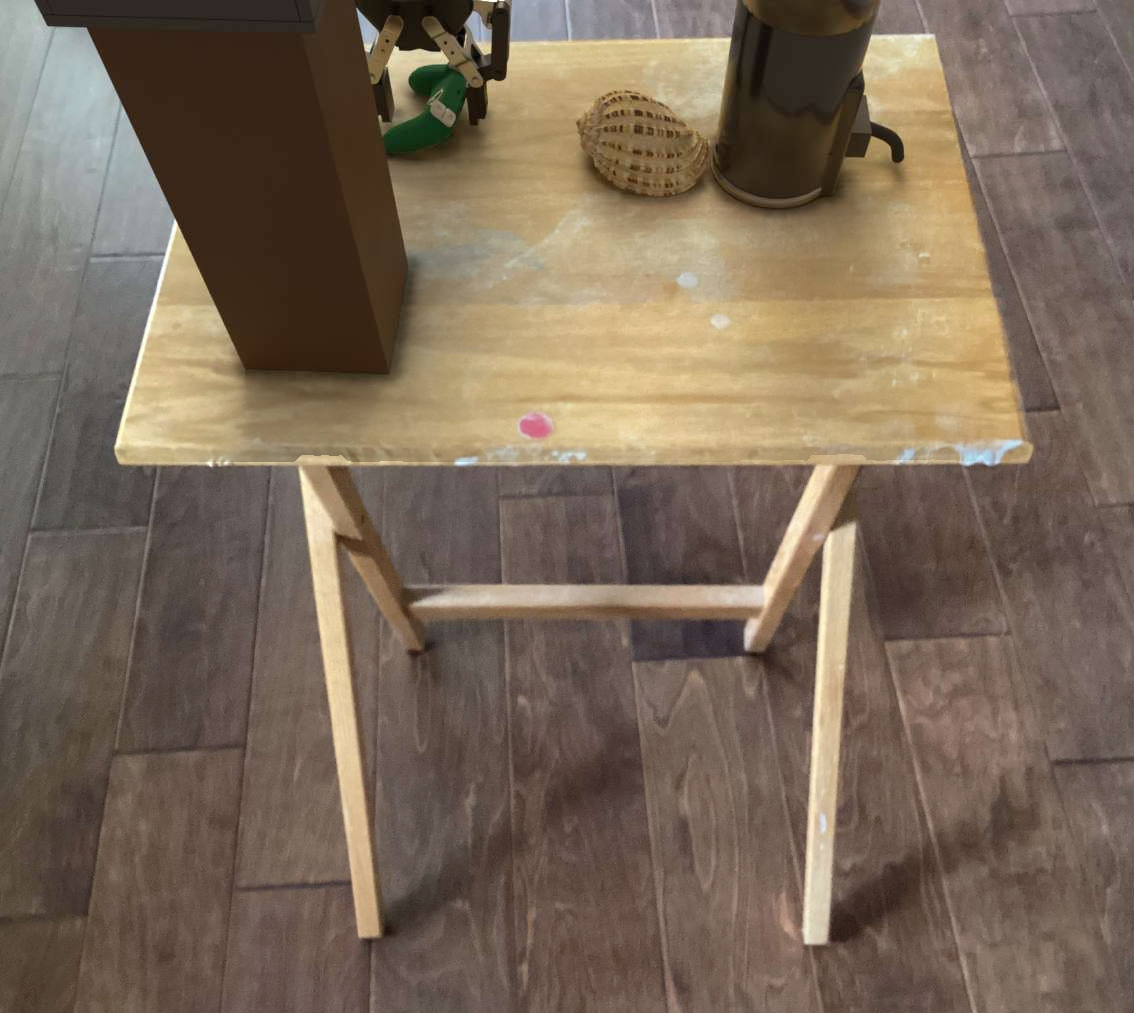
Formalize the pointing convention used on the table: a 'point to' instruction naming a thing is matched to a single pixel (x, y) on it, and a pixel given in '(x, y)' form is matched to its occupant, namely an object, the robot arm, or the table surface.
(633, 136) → the seashell
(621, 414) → the table surface
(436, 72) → the gaming controller
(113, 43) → the bin
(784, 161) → the robot arm
